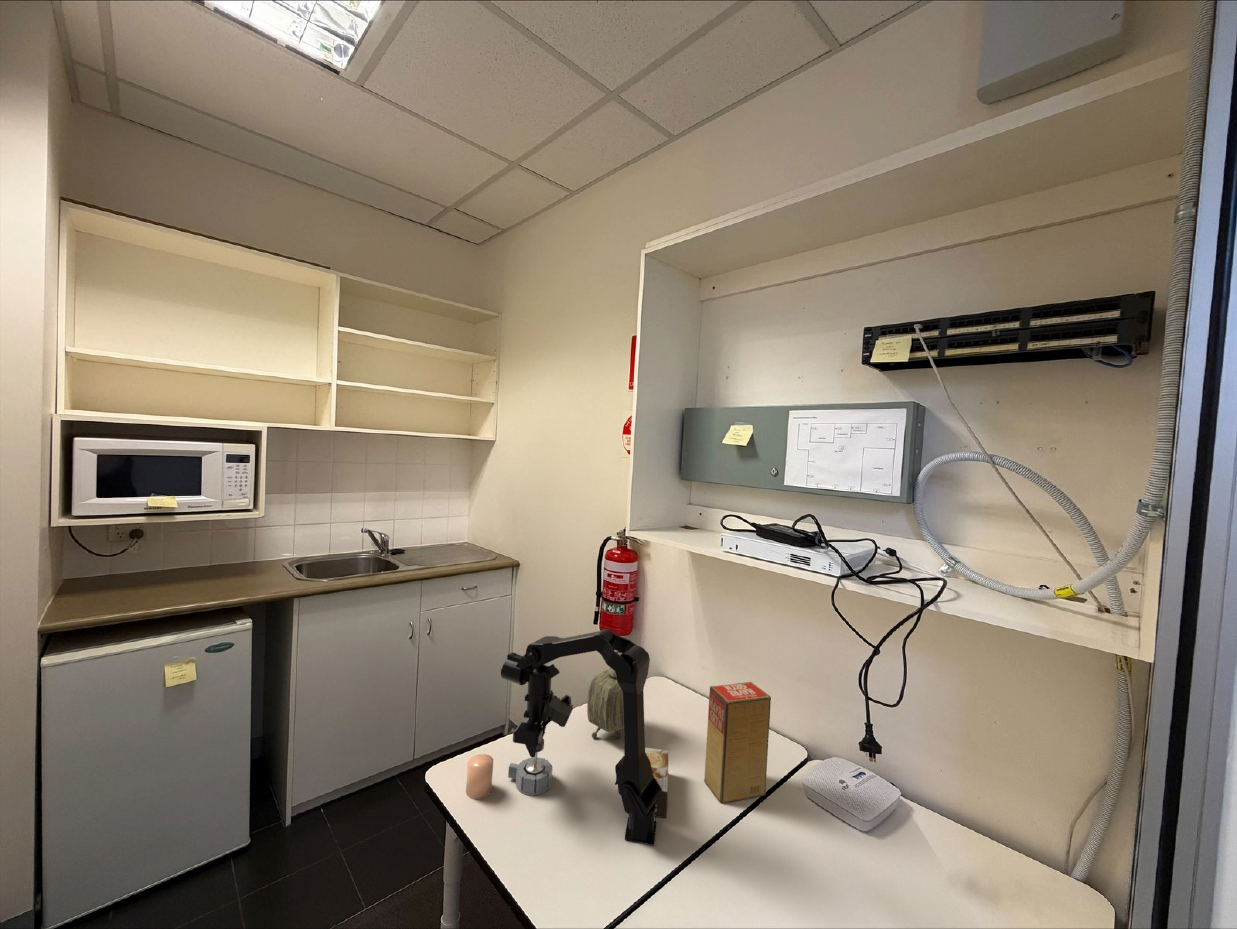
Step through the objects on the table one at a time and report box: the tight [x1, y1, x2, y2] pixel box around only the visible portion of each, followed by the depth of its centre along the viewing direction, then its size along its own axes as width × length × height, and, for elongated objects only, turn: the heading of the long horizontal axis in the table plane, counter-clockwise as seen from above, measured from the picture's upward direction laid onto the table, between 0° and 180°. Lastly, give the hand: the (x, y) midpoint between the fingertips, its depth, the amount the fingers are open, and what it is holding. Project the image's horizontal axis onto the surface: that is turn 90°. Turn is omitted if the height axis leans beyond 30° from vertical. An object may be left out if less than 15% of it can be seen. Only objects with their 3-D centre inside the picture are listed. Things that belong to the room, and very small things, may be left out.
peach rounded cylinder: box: [465, 753, 494, 800], centre depth 116 cm, size 6×6×7 cm
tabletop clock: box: [586, 651, 624, 739], centre depth 143 cm, size 14×9×25 cm, turn 139°
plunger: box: [526, 737, 545, 774], centre depth 120 cm, size 4×4×7 cm
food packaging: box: [703, 681, 772, 804], centre depth 123 cm, size 13×9×25 cm
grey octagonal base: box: [507, 756, 553, 796], centre depth 120 cm, size 9×11×4 cm
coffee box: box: [645, 747, 670, 819], centre depth 119 cm, size 9×6×16 cm
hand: (535, 751), depth 120 cm, fingers open, 4 cm apart
